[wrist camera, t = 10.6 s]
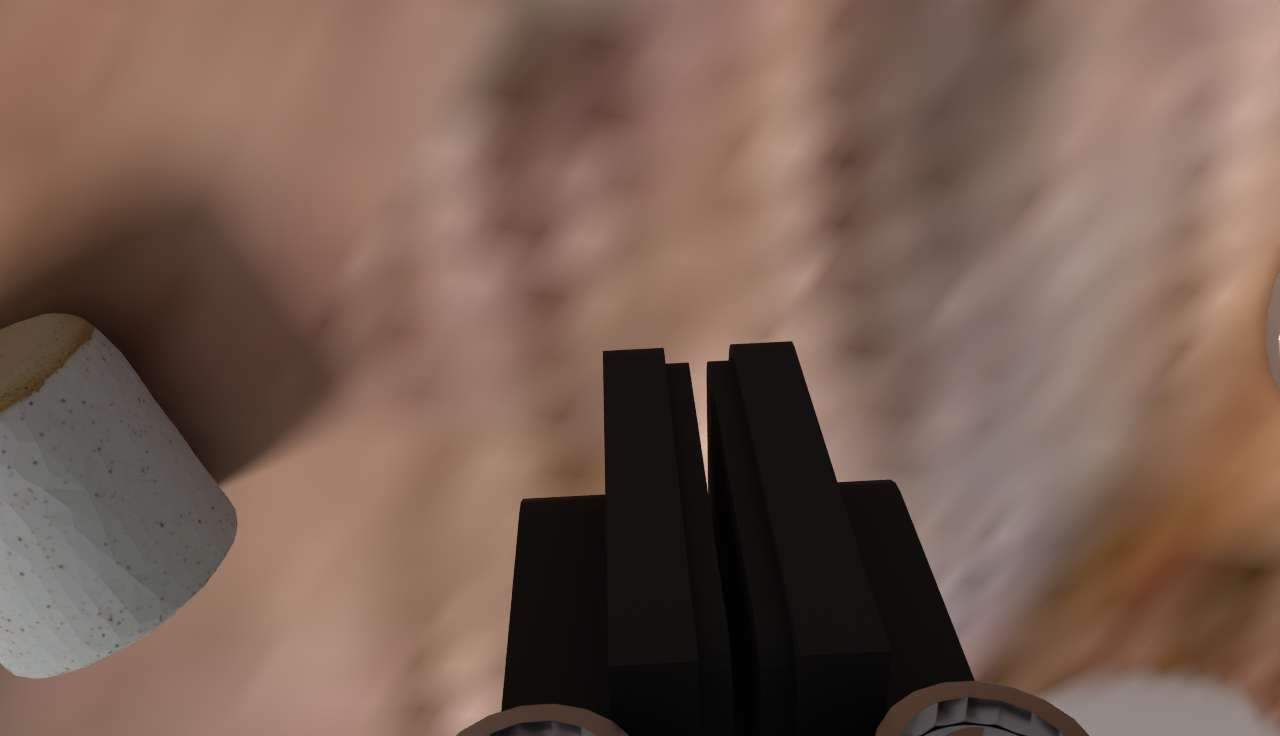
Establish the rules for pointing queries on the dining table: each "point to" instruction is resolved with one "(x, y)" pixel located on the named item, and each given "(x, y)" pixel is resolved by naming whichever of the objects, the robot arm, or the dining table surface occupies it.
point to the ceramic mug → (93, 502)
